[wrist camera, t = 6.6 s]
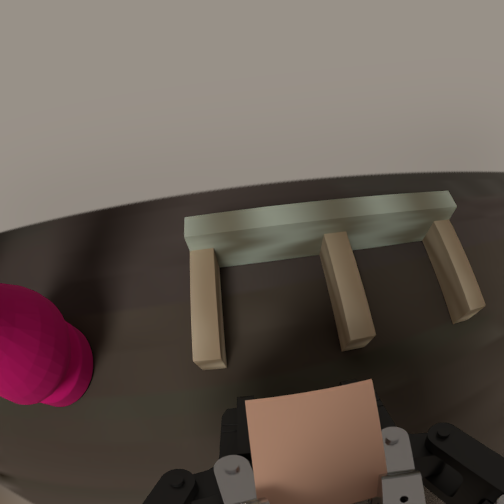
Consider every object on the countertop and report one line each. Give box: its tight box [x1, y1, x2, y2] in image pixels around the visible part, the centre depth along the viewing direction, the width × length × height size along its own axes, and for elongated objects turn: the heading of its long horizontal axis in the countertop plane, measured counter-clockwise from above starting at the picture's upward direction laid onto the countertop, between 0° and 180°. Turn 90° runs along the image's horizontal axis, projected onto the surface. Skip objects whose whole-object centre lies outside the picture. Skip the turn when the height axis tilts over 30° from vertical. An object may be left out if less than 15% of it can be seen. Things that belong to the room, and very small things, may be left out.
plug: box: [245, 379, 387, 504], centre depth 12 cm, size 4×4×9 cm
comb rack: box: [184, 191, 486, 370], centre depth 19 cm, size 18×8×4 cm, turn 96°
